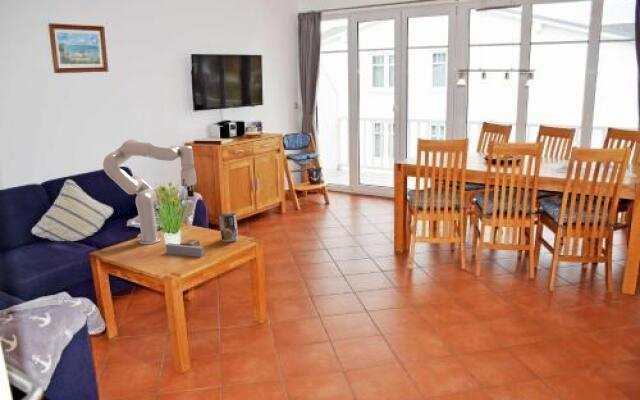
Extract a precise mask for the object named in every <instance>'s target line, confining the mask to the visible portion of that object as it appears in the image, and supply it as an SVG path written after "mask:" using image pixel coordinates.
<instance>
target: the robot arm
mask: <svg viewBox="0 0 640 400" xmlns="http://www.w3.org/2000/svg"><path fill="white" fill-rule="evenodd" d="M132 157H139V158H140V157H141V158H142V157H143V158H150V159H153V160H159V161H164V162H165V161H167V162H169V161H170V162H174V161H175V160H177V159H178V158H179V160H180V166H181V170H180V185H181V187H183V189H186V191H187V192H186V193H187V197H189V198H192V197H194V196H195V194H194V190H195V186H196V185H197V182H198V181H197V173H196V172H197V171H196V168H195V160H194V152H193V146H192V145H182V146H181V145H171V146H169V147H160V146H155V145H153V143H151V142H141V141H138V140H136V139H133V138H132V139H131V138H130V139H128V140H126V141H124V142H123V143H122V145H121V146H119V147H118V148H117V149H115V150H114V151H112V152H110V153H108V154H107V155H106V156H105V157H104V159H103V163H102V167H103V172H105V174H106V176H108V178H110V179H111V180H113V182H114V183H115V184H117V185H118V186H119V187H120V189H122V190H123V192H125V193H127V194H128V195H135V194H136V197H135V205H136V206H135V207H136V208H137V214H138V221H139V228H140V233H138V235H137V238H140V240H139V244H141V245H153V244H158V243H159V242H161V241H162V238H161V237H160V236H159V234H158V228H157V227H158V226H157V220H156V212H155V207H154V202H155V201H156V200H157V192H156V191H155V189H153V188H152V186H150V185H149V184H148V183H147V182H146V181H145V180H144V179H143V178H142V177H140V176H137V175H132V176H131V175H130V174H128V173H127V172H126V171H125V170H124V169H122V168H121V167H120V165H122V164H124V163H125V162H127V161H128V160H129V159H130V158H132Z"/></svg>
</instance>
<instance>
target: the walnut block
mask: <svg viewBox="0 0 640 400" xmlns="http://www.w3.org/2000/svg"><path fill="white" fill-rule="evenodd" d="M179 244H181V245H191V246H201V245H200V239H189V238H187V239H185V240H184V241H181V242H180V243H179Z"/></svg>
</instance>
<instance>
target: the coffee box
mask: <svg viewBox="0 0 640 400" xmlns="http://www.w3.org/2000/svg"><path fill="white" fill-rule="evenodd" d="M218 219H219V226H220V235H221V242H222V243H223V242H227V243H228V242H237V241H238V240H239V238H240V237H239V228H238V220H237V219H238V218H237V213H236V212H229V213H227V212H226V213H221V214H220V215H219V216H218Z"/></svg>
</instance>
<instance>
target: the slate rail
mask: <svg viewBox="0 0 640 400" xmlns="http://www.w3.org/2000/svg"><path fill="white" fill-rule="evenodd" d="M165 250H166V251H165V252H166V254H170V255H180V256H190V257H198V258H199V257H200V258H203V257H204V256H205V247H204V246H201V245H200V246H191V245H181V244H180V243H170V242H169V243H166V244H165Z"/></svg>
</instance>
